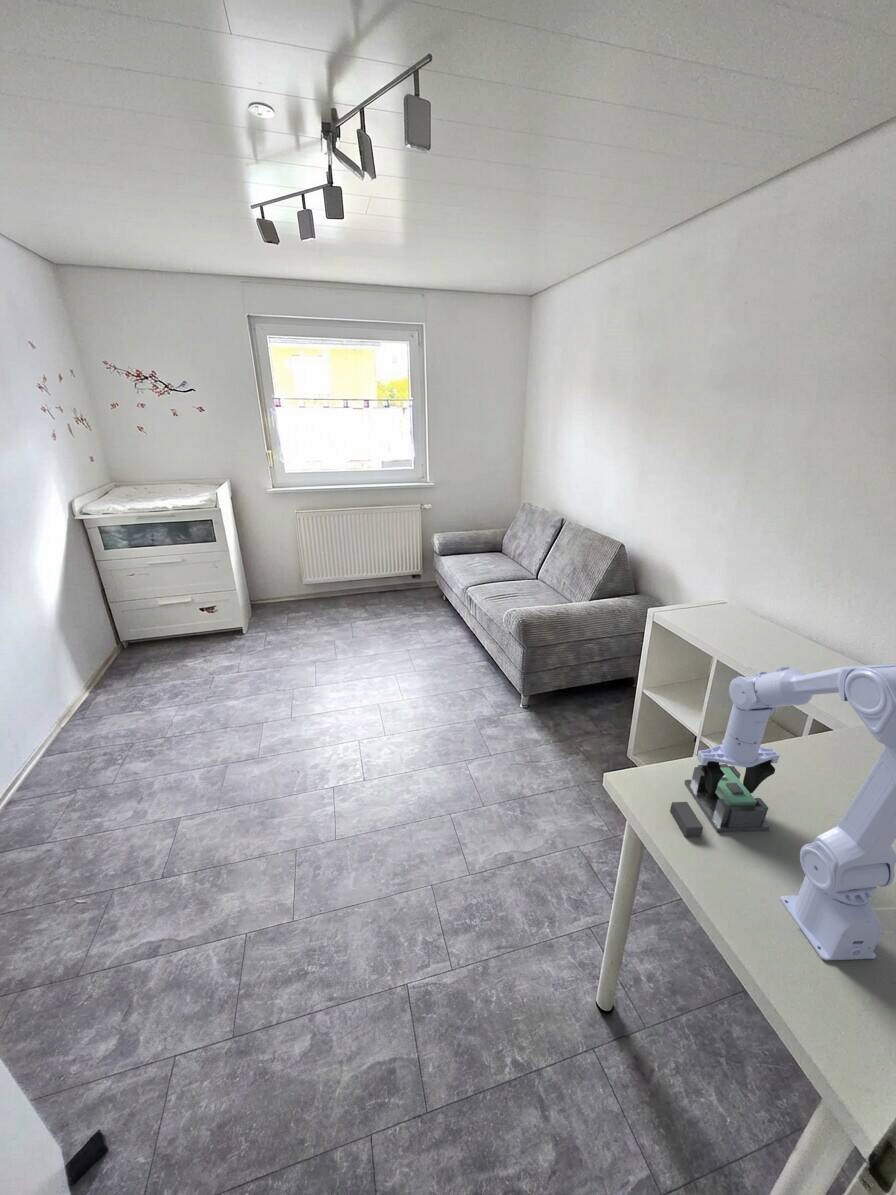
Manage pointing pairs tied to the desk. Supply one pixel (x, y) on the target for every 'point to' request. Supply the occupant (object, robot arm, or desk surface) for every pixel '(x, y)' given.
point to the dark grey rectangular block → (686, 819)
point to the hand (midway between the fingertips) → (728, 790)
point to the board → (734, 791)
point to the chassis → (726, 807)
